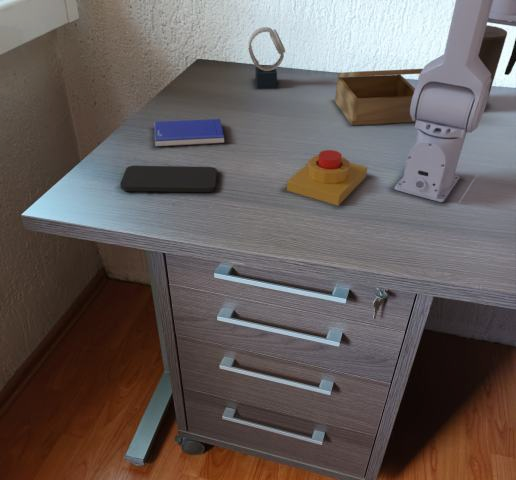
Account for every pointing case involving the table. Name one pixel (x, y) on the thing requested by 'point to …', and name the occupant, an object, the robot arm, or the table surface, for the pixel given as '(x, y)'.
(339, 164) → the button
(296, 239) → the table surface
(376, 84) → the chest
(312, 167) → the button block
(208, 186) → the phone
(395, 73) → the lid
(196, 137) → the blue hardcover book
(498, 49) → the pillar candle
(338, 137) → the table surface
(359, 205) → the table surface
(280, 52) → the watch
